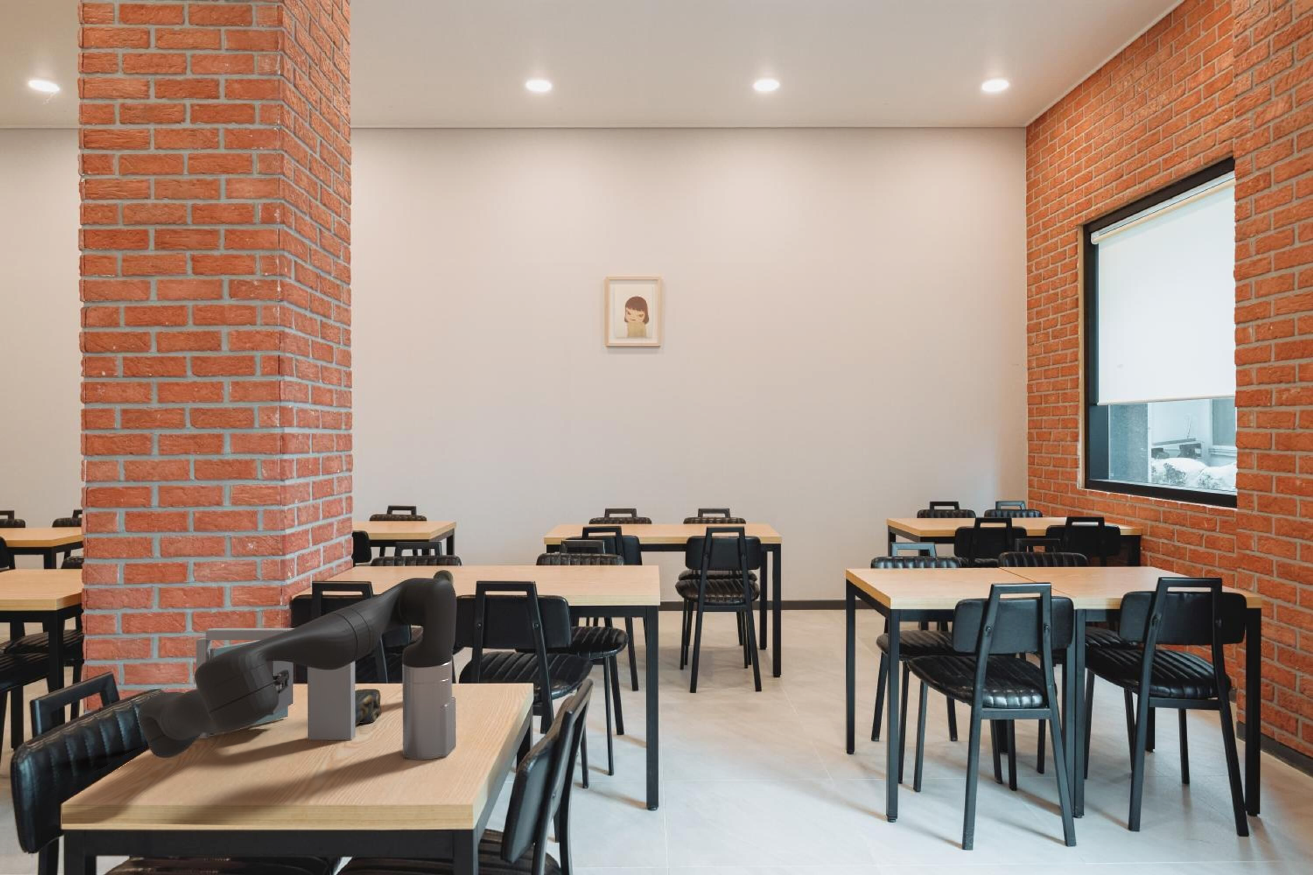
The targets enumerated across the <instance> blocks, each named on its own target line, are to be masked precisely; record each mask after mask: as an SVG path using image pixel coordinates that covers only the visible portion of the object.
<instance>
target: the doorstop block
mask: <svg viewBox="0 0 1313 875" xmlns="http://www.w3.org/2000/svg"><path fill="white" fill-rule="evenodd" d="M266 664H267V666H268V668H269V671H270V673H271V675H275V674H277V673H280V672H282V671H284V670H288V672H289V680H288V687H287V688H286V689H285V690H284V691H282V692H281V693H280V694H278V695H279V703H278V705H277V707H276V708H275V710H274V711H272V712H271V713H270V714H269V715H274V714H276V713H278V712H280V711H281V710H283V709H285V708H286V707H288V708H289V707H290V706H291V705H293V704H294V663H291V662H286V661H269V662H266ZM273 680H275V679H273Z"/></svg>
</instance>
